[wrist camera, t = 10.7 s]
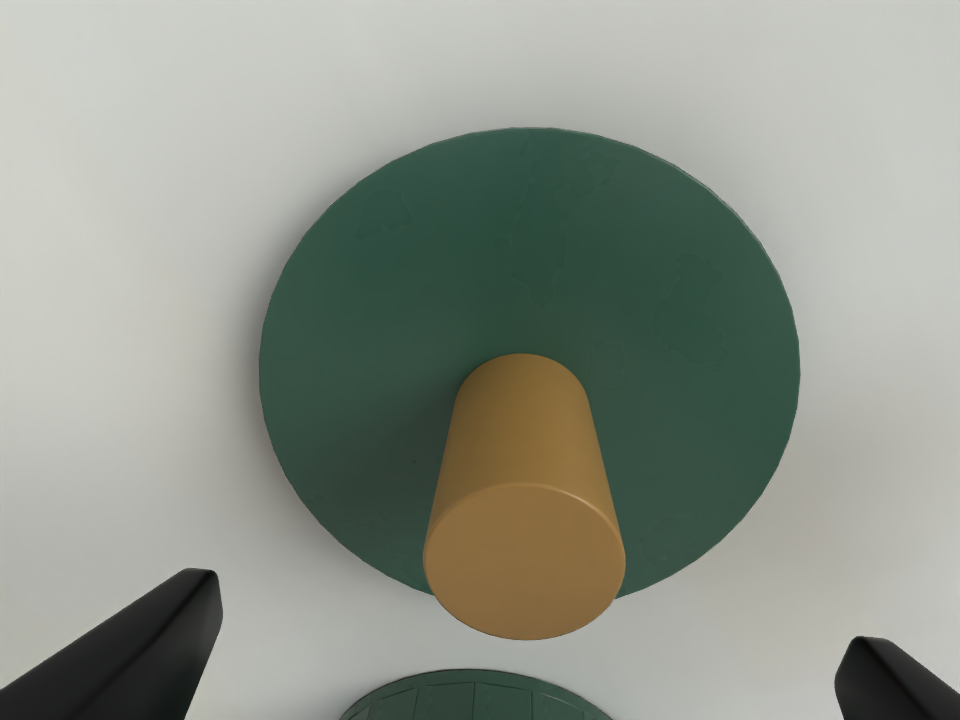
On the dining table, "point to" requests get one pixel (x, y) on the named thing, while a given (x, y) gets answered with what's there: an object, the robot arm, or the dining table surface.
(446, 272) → the tin lid
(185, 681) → the robot arm
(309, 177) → the dining table surface
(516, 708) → the tin
